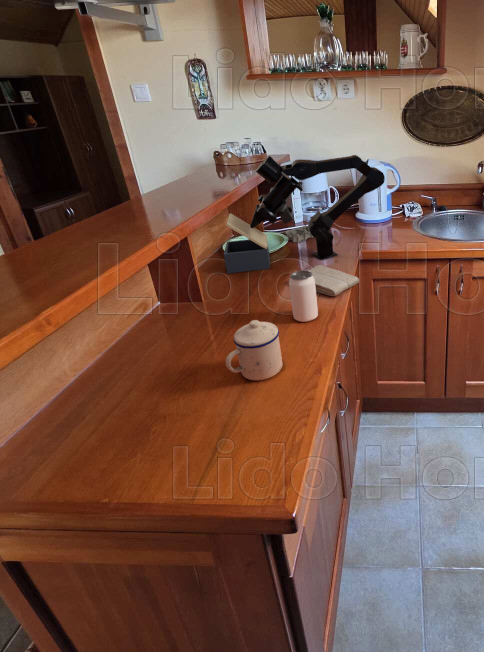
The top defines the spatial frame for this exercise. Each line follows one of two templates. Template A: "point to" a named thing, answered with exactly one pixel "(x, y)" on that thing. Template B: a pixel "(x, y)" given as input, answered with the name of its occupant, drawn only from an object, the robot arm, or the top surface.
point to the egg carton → (299, 234)
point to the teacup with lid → (257, 351)
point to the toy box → (245, 256)
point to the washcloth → (332, 280)
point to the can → (303, 296)
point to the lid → (247, 230)
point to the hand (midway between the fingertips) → (251, 227)
